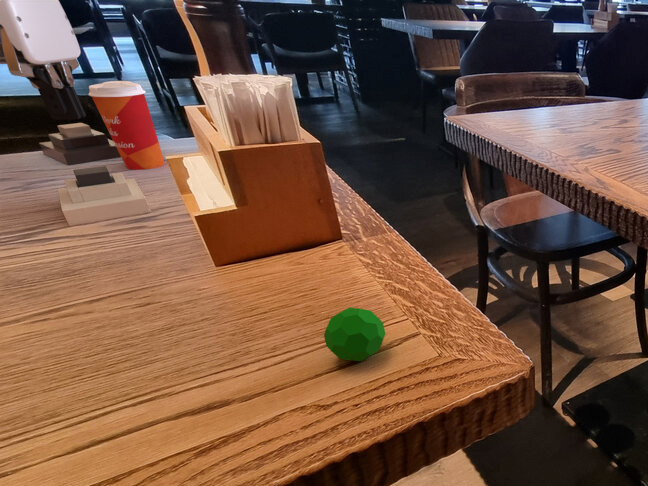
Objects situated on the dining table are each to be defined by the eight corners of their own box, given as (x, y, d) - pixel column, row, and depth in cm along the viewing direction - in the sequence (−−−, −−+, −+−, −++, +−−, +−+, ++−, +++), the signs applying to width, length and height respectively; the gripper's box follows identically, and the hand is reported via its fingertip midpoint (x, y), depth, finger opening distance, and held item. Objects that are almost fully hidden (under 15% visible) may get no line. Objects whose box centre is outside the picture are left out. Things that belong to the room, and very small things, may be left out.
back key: (62, 136, 98) (57, 125, 97) (86, 133, 101) (81, 122, 100) (69, 139, 97) (64, 128, 96) (93, 136, 99) (89, 125, 98)
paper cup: (116, 164, 96) (82, 83, 90) (167, 158, 101) (139, 81, 94) (122, 174, 92) (87, 89, 85) (175, 167, 96) (146, 86, 90)
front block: (64, 202, 79) (51, 177, 77) (139, 191, 84) (129, 167, 82) (69, 226, 72) (55, 198, 70) (151, 212, 77) (140, 185, 75)
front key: (79, 183, 76) (73, 169, 75) (111, 179, 78) (105, 165, 77) (81, 189, 74) (75, 175, 73) (114, 185, 76) (108, 171, 75)
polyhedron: (357, 378, 46) (346, 333, 44) (318, 361, 48) (306, 317, 45) (399, 349, 50) (392, 306, 47) (362, 335, 52) (353, 293, 49)
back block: (44, 154, 100) (33, 133, 98) (102, 146, 107) (93, 126, 105) (68, 165, 95) (58, 143, 93) (128, 156, 101) (119, 135, 99)
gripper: (9, -38, 68) (74, 109, 77) (-100, -47, 56) (-7, 130, 65) (75, -35, 70) (132, 108, 79) (-16, -43, 57) (64, 129, 66)
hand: (69, 118), depth 72 cm, fingers closed
